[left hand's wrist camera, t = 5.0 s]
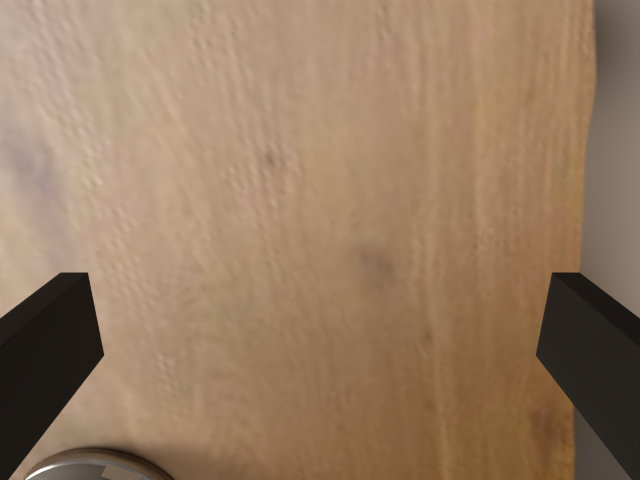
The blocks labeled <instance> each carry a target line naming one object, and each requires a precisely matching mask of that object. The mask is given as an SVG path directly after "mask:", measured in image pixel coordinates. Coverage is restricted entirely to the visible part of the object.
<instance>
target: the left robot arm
mask: <svg viewBox="0 0 640 480" xmlns="http://www.w3.org/2000/svg"><path fill="white" fill-rule="evenodd" d="M103 356H104V352H103V347H102V342H101V337H100V331H99V326H98V321H97V316H96V311H95V306H94V301H93V296H92V291H91V286H90V281H89V276H88V273H59V274H58V275H57V276H56V277H54V278H53V279H52V280H50V281H49V282H48V283H46V284H45V285H44V286H42V287H41V288H40V289H38V290H37V291H36V292H34V293H33V294H32V295H30V296H29V297H28V298H27V299H25V300H24V301H23V302H21V303H20V304H19V305H17V306H16V307H15V308H13V309H12V310H11V311H9V312H8V313H7V314H5V315H4V316H3V317H2V318H0V480H8V479H9V478H10V477H11V475H12V474H13V473H14V472H15V470H16V469H17V468H18V466H19V465H20V464H21V462H22V461H23V460H24V459H25V457H26V456H27V455H28V453H29V452H30V451H31V450H32V448H33V447H34V446H35V444H36V443H37V442H38V440H39V439H40V438H41V437H42V435H43V434H44V433H45V431H46V430H47V429H48V428H49V426H50V425H51V424H52V422H53V421H54V420H55V418H56V417H57V416H58V415H59V413H60V412H61V411H62V409H63V408H64V407H65V405H66V404H67V403H68V402H69V400H70V399H71V398H72V396H73V395H74V394H75V393H76V391H77V390H78V389H79V387H80V386H81V385H82V383H83V382H84V381H85V380H86V378H87V377H88V376H89V374H90V373H91V372H92V370H93V369H94V368H95V367H96V365H97V364H98V363H99V361H100V360H101V359H102V358H103ZM536 356H537V358H538V359H539V360H540V361H541V363H542V364H543V365H544V367H545V368H546V369H547V370H548V372H549V373H550V374H551V376H552V377H553V378H554V380H555V381H556V382H557V383H558V385H559V386H560V387H561V389H562V390H563V391H564V393H565V394H566V395H567V396H568V398H569V399H570V400H571V402H572V403H573V404H574V405H575V407H576V408H577V409H578V411H579V412H580V413H581V415H582V416H583V417H584V418H585V420H586V421H587V422H588V424H589V425H590V426H591V428H592V429H593V430H594V431H595V433H596V434H597V435H598V437H599V438H600V439H601V440H602V442H603V443H604V444H605V446H606V447H607V448H608V449H609V451H610V452H611V453H612V455H613V456H614V457H615V459H616V460H617V461H618V462H619V464H620V465H621V466H622V468H623V469H624V470H625V472H626V473H627V474H628V475H629V477H630V478H631V479H632V480H640V318H638V317H637V316H636V315H634V314H633V313H632V312H631V311H629V310H628V309H627V308H625V307H624V306H623V305H621V304H620V303H619V302H617V301H616V300H615V299H613V298H612V297H611V296H610V295H608V294H607V293H606V292H604V291H603V290H602V289H600V288H599V287H598V286H596V285H595V284H594V283H592V282H591V281H590V280H588V279H587V278H586V277H584V276H583V275H582V274H581V273H552V276H551V281H550V286H549V291H548V296H547V301H546V306H545V311H544V316H543V321H542V326H541V331H540V336H539V342H538V347H537V352H536ZM23 480H172V479H171V478H169V477H168V476H167V475H166V474H165V473H163V472H162V471H161V470H159V469H158V468H156V467H155V466H153V465H151V464H150V463H148V462H146V461H144V460H141V459H139V458H137V457H134V456H131V455H128V454H125V453H121V452H117V451H112V450H105V449H76V450H70V451H65V452H61V453H58V454H55V455H53V456H50V457H48V458H46V459H44V460H43V461H41V462H40V463H38V464H37V465H36V466H34V467H33V468H32V469H31V470H30V471H29V472H28V473H27V475H26V476H25V478H24V479H23Z"/></svg>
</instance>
